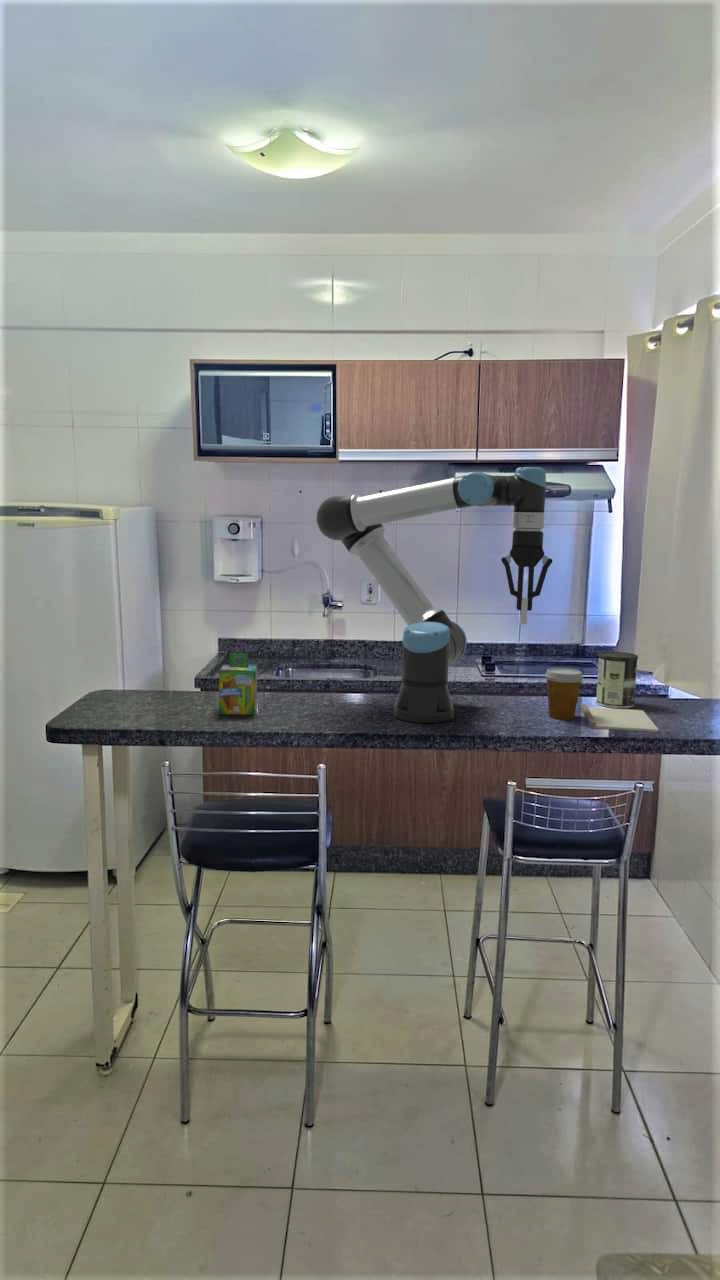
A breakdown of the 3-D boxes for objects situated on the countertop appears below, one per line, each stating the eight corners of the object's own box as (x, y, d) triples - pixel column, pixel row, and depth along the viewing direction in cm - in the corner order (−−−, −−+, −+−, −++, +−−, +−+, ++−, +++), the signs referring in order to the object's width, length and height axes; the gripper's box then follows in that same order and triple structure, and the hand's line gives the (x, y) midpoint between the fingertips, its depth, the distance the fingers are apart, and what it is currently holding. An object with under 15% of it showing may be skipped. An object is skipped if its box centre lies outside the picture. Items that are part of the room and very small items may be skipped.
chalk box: (218, 715, 200) (218, 657, 197) (222, 706, 209) (221, 651, 206) (255, 715, 200) (255, 657, 198) (257, 707, 209) (257, 651, 207)
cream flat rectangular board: (590, 728, 195) (590, 722, 195) (580, 708, 215) (581, 703, 215) (658, 732, 193) (659, 726, 193) (642, 712, 212) (643, 706, 212)
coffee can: (626, 700, 226) (630, 651, 224) (639, 709, 216) (643, 658, 214) (590, 699, 226) (593, 650, 224) (601, 708, 216) (605, 657, 214)
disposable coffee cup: (574, 712, 211) (577, 667, 209) (585, 721, 201) (588, 675, 199) (538, 711, 211) (541, 667, 209) (547, 721, 201) (550, 674, 199)
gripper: (502, 529, 198) (497, 624, 201) (556, 530, 196) (550, 626, 199) (501, 529, 205) (497, 620, 208) (553, 530, 203) (548, 622, 207)
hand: (523, 623), depth 204 cm, fingers closed
